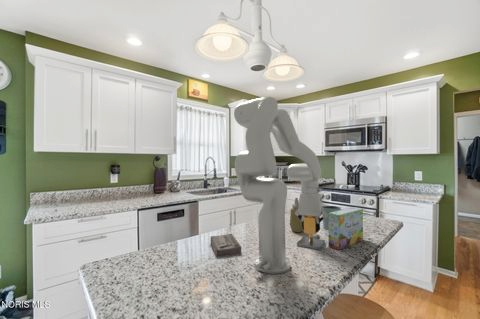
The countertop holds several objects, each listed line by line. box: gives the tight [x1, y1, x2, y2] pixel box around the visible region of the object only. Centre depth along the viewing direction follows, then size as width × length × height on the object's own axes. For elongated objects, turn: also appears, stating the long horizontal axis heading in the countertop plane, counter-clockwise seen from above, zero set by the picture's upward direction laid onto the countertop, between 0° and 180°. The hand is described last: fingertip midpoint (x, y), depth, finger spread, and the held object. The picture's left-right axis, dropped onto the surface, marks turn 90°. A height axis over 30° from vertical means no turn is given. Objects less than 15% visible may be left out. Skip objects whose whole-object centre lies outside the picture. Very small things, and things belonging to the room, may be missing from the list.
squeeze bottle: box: [289, 197, 304, 233], centre depth 124 cm, size 8×8×18 cm
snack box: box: [328, 206, 364, 251], centre depth 104 cm, size 21×6×15 cm, turn 127°
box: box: [210, 233, 242, 257], centre depth 101 cm, size 11×17×3 cm, turn 16°
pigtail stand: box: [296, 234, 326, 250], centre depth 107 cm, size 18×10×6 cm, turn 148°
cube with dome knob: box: [303, 216, 318, 236], centre depth 104 cm, size 5×5×8 cm
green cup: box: [321, 205, 342, 231], centre depth 128 cm, size 10×10×12 cm
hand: (311, 230), depth 104 cm, fingers closed on cube with dome knob, 4 cm apart
